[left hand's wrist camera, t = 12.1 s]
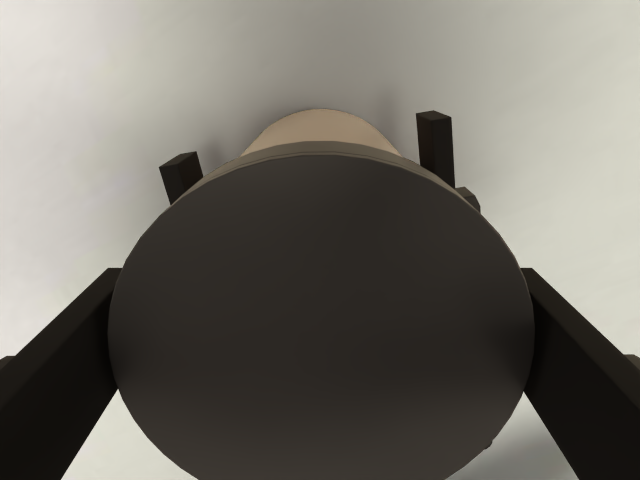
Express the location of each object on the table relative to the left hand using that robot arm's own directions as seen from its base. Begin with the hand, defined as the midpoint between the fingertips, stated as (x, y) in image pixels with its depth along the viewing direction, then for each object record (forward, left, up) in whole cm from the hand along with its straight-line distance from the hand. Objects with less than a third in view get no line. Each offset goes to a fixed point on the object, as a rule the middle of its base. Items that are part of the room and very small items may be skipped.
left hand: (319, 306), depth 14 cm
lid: (0, 0, +3) cm, 3 cm away
